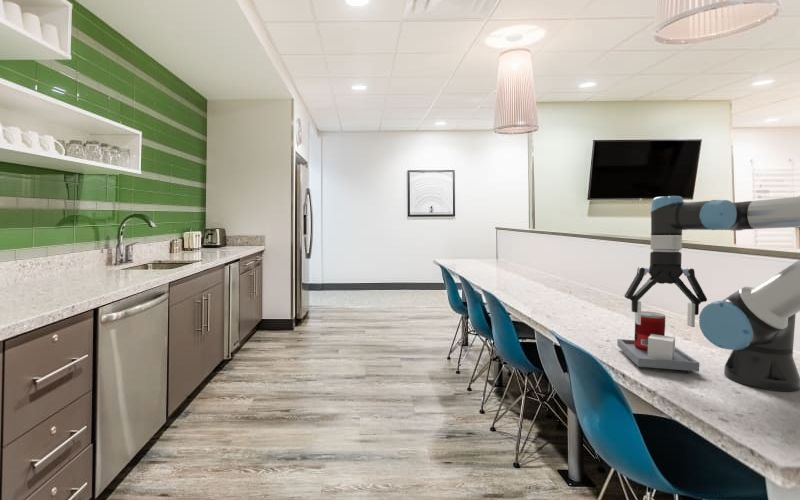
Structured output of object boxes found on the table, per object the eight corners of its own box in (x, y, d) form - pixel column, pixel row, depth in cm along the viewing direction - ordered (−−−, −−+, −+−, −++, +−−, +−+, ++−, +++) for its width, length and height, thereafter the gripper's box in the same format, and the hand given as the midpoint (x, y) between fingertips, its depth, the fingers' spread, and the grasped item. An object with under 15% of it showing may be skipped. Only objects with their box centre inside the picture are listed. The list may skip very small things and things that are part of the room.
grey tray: (617, 349, 136) (617, 338, 136) (668, 353, 133) (668, 342, 132) (637, 370, 116) (638, 358, 116) (698, 375, 112) (699, 362, 112)
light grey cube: (647, 358, 119) (648, 337, 119) (650, 353, 124) (651, 333, 123) (672, 362, 115) (673, 341, 115) (674, 357, 120) (675, 337, 120)
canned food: (669, 352, 125) (671, 316, 124) (642, 352, 125) (644, 316, 124) (654, 345, 132) (655, 311, 132) (629, 344, 133) (630, 310, 132)
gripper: (709, 250, 118) (707, 324, 119) (614, 250, 124) (612, 320, 125) (723, 251, 111) (720, 330, 112) (621, 250, 117) (620, 325, 118)
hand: (663, 325), depth 118 cm, fingers open, 13 cm apart
